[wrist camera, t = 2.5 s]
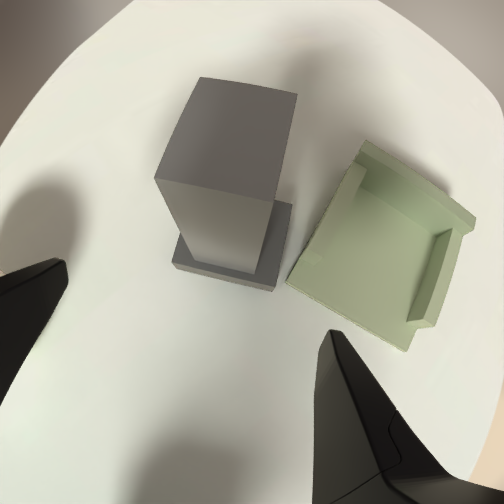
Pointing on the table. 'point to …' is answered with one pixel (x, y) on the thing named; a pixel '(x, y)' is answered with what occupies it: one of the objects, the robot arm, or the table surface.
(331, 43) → the table surface
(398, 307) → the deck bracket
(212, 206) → the grey pillar on base
